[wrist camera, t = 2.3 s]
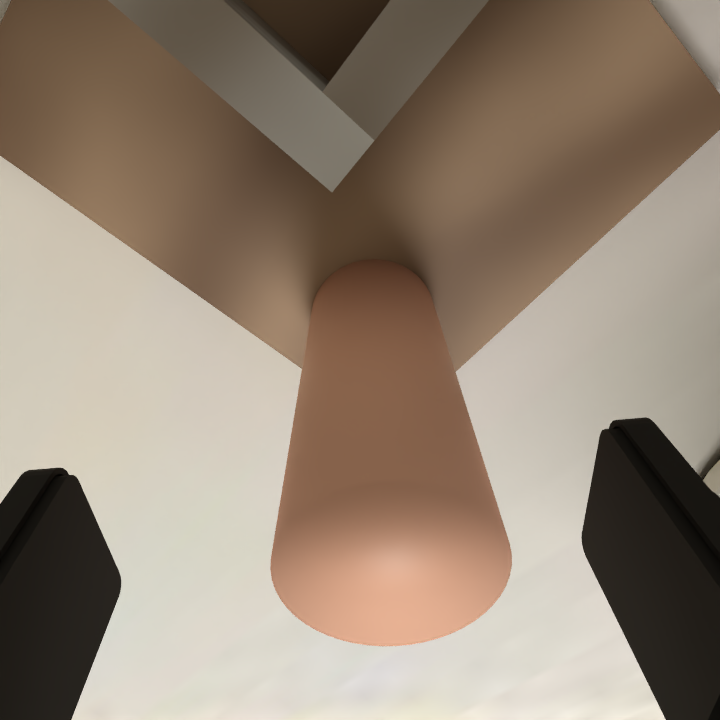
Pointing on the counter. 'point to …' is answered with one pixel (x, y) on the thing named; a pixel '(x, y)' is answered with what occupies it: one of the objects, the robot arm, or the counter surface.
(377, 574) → the peg
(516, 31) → the socket board
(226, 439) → the counter surface
